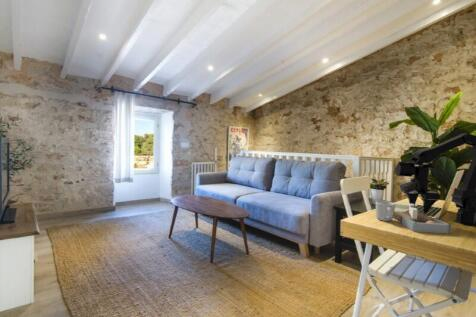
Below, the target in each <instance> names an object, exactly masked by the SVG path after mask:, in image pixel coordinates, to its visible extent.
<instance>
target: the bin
mask: <svg viewBox="0 0 476 317" xmlns="http://www.w3.org/2000/svg"><path fill="white" fill-rule="evenodd" d="M432 218H433V217H432ZM433 222H435V223H416V222H414V221H412V220H410V219H408V218H406V217H402V223H401V225H402V226H403V227H405V228H407V229H409V230H410V231H412V232H414V233H415V232H416V233H433V234H434V233H435V234H451V228H452V225H451V224H450V223H447V222H445V221H443V220H441V219H438V218H435V217H434V218H433Z"/></svg>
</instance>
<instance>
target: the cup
mask: <svg viewBox="0 0 476 317" xmlns="http://www.w3.org/2000/svg"><path fill="white" fill-rule="evenodd" d="M396 206H397V205H396V203H395V202H391V201H387V200H376V201H375V217H376V219H377V220H379V221H383V222H391V221H392V220H393V219H394V218H393V215H394V211H395V210H396Z"/></svg>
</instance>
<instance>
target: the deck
mask: <svg viewBox="0 0 476 317" xmlns="http://www.w3.org/2000/svg"><path fill="white" fill-rule="evenodd" d="M402 217H406V218H408V219H410V220H412V221H414V222H416V223H426V222H427V221H433V217H432V216H429V215H427V214H426V213H422V212H417V219H412V217H411V215H410V213H409V211H395V210H394V215H393V219H394V220H395V221H397V222H399V223H401V224H402Z"/></svg>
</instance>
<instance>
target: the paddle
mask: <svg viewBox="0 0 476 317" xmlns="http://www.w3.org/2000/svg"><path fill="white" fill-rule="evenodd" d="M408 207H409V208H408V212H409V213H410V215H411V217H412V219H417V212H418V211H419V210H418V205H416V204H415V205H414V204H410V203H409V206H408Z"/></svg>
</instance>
